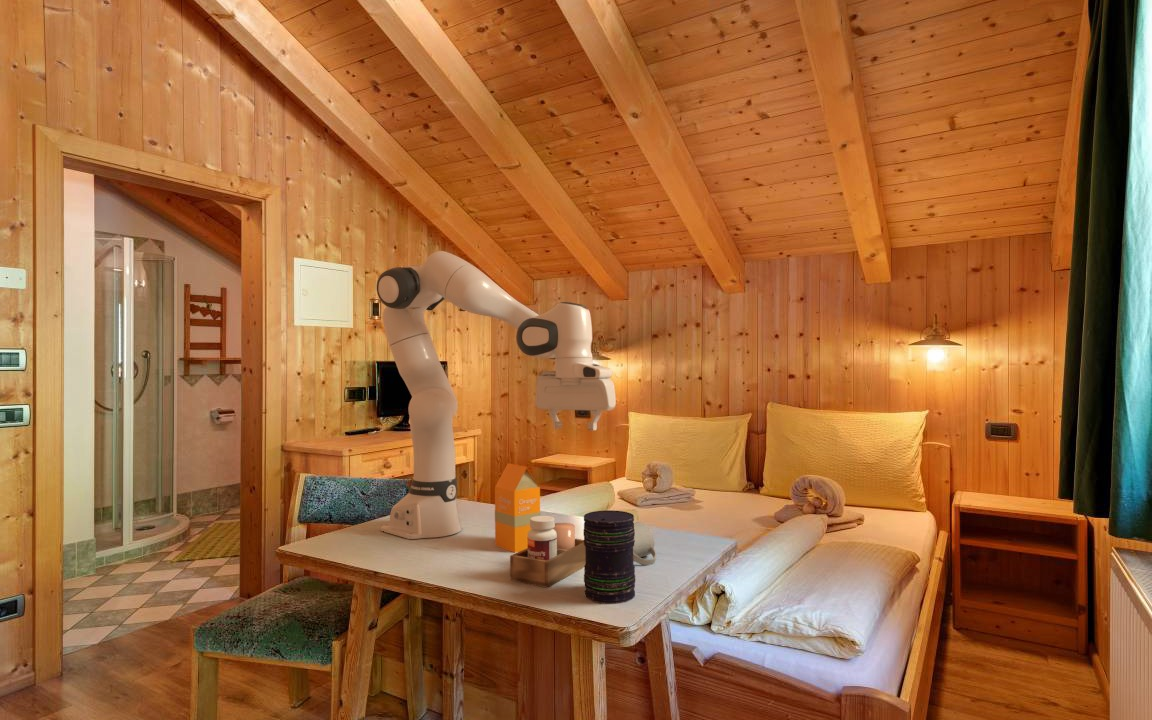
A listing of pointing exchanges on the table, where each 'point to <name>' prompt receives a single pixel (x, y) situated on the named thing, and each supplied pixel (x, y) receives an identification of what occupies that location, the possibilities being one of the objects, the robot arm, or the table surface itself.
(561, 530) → the orange rounded cylinder
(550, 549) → the pill bottle
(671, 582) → the table surface
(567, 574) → the caddy
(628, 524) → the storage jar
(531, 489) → the orange juice
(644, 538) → the ceramic mug
